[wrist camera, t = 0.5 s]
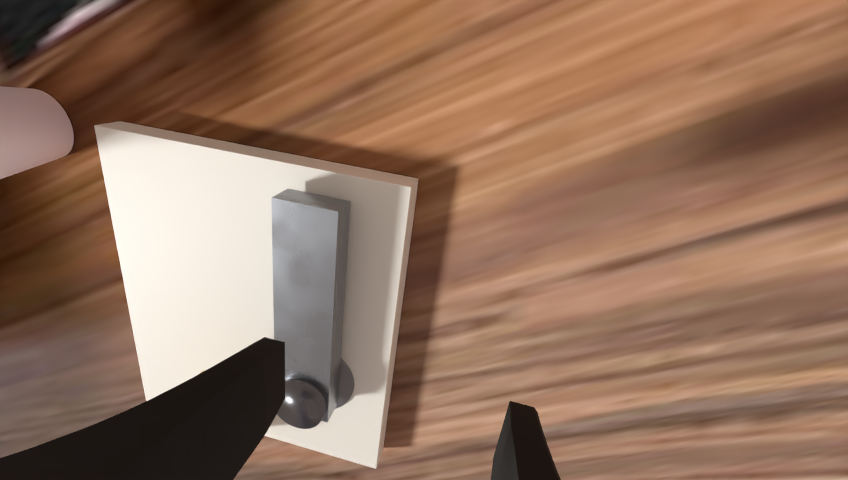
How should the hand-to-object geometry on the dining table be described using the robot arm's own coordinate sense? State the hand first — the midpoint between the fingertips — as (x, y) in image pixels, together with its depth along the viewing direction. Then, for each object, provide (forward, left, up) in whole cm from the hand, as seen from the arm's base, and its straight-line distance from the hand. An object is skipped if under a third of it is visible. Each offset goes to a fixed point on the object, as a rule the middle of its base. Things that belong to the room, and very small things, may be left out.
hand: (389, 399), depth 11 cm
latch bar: (-4, +6, -8) cm, 11 cm away
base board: (-6, +10, -10) cm, 16 cm away
